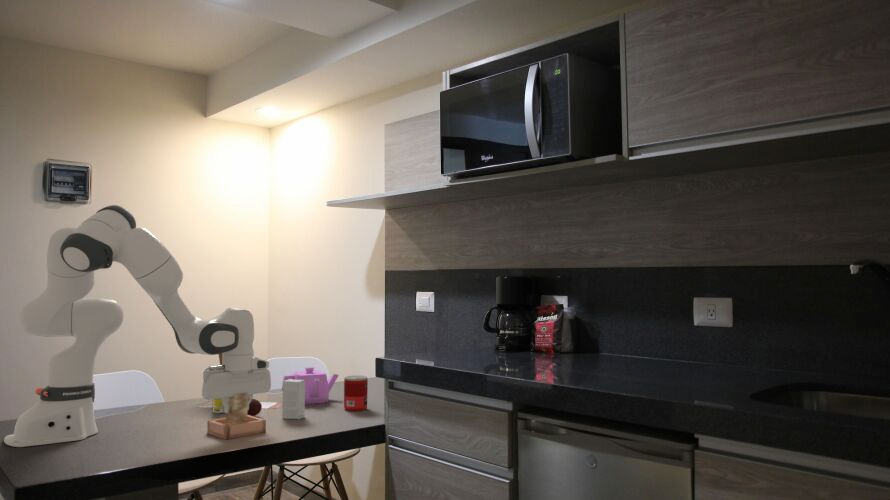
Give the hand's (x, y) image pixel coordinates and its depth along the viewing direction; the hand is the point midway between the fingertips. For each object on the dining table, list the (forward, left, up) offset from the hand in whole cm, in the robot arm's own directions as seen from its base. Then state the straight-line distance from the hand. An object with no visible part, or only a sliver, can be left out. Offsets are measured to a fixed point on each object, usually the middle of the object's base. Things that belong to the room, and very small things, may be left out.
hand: (236, 411), depth 188 cm
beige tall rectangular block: (0, 0, -4) cm, 4 cm away
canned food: (+46, +3, -6) cm, 47 cm away
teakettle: (+44, +27, -6) cm, 52 cm away
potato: (+13, +17, -6) cm, 22 cm away
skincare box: (+23, +6, -6) cm, 25 cm away
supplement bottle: (+11, +31, -6) cm, 34 cm away
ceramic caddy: (0, 0, -6) cm, 6 cm away
